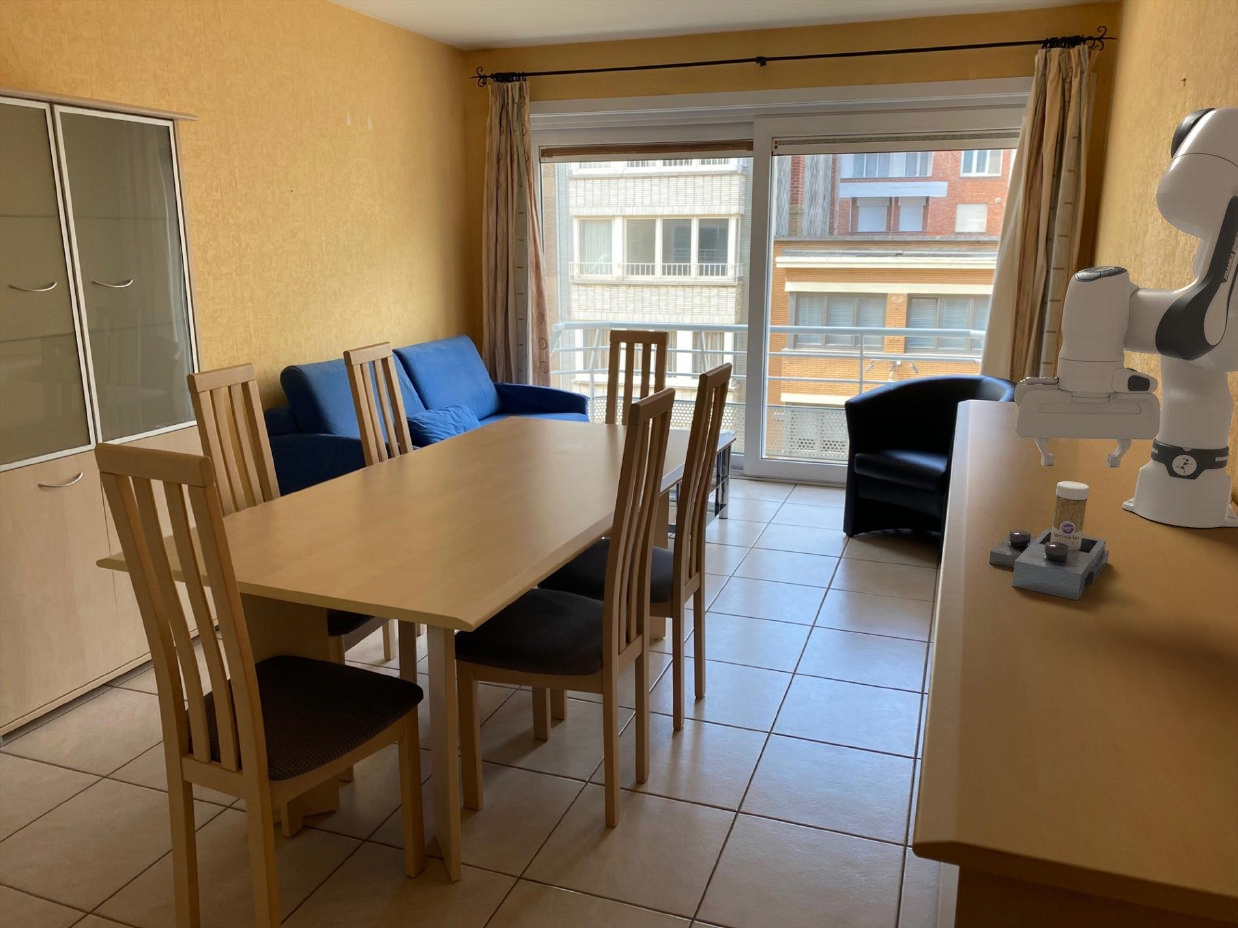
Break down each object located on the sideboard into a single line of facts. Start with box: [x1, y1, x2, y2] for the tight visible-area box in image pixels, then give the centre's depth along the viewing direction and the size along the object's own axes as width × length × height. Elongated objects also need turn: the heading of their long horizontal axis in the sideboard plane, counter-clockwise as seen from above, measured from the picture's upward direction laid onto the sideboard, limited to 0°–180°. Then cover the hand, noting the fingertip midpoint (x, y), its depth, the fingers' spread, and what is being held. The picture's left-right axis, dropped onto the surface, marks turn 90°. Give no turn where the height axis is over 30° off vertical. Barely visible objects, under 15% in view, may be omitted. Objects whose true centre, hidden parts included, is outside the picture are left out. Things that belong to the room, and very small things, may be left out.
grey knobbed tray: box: [988, 529, 1110, 585], centre depth 145 cm, size 12×15×4 cm
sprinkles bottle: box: [1050, 480, 1090, 551], centre depth 143 cm, size 5×5×14 cm
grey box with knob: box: [1011, 528, 1107, 601], centre depth 140 cm, size 19×9×6 cm, turn 143°
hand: (1079, 466), depth 140 cm, fingers open, 8 cm apart
